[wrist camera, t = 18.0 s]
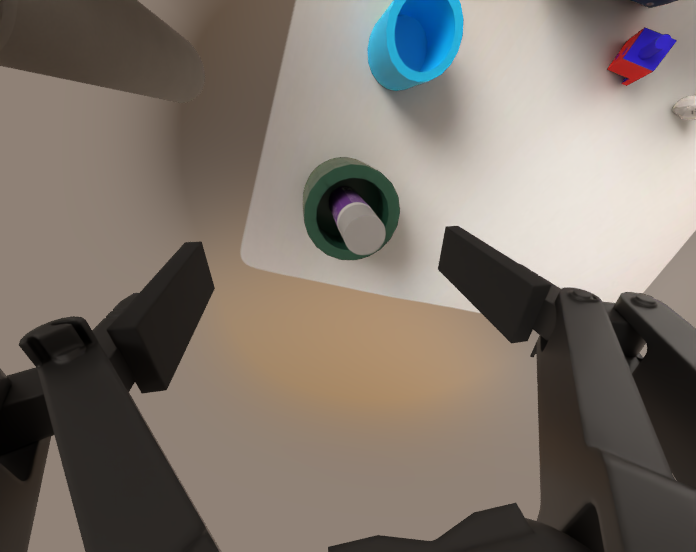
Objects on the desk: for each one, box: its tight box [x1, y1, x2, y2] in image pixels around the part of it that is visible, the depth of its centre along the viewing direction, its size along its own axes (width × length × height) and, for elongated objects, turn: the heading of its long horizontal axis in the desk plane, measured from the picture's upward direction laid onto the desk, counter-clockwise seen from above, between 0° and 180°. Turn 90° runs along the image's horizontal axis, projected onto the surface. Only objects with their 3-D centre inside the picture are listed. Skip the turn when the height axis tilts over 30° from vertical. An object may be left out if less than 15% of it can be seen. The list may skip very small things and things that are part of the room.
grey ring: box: [672, 96, 696, 120], centre depth 42 cm, size 4×2×4 cm, turn 61°
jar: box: [303, 157, 400, 260], centre depth 38 cm, size 12×12×9 cm
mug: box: [368, 0, 463, 91], centre depth 30 cm, size 12×8×8 cm
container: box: [329, 186, 386, 255], centre depth 35 cm, size 5×5×15 cm
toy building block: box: [607, 28, 677, 86], centre depth 37 cm, size 4×4×8 cm
